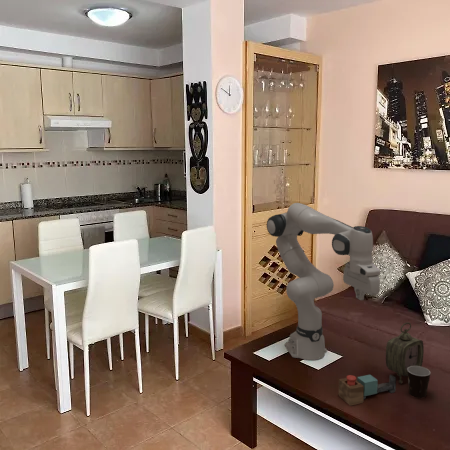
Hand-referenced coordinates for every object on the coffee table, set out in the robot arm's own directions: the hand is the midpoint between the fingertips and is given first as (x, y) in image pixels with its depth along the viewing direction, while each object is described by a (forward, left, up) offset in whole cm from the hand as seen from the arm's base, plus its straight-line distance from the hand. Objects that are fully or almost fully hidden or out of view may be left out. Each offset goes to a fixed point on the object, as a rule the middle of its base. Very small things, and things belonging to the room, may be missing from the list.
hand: (359, 299), depth 191 cm
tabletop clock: (+3, +21, -37) cm, 43 cm away
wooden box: (+10, -10, -37) cm, 40 cm away
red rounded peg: (+10, -10, -34) cm, 36 cm away
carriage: (+10, -2, -36) cm, 37 cm away
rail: (+10, +2, -37) cm, 38 cm away
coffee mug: (+17, +16, -37) cm, 44 cm away
